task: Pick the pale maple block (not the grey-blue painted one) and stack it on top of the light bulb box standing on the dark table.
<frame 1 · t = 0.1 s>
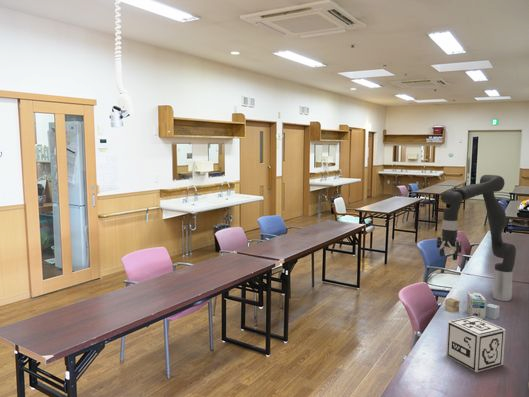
hand: (448, 258, 228), 29 cm above the table, fingers open, 8 cm apart
grey-blue block: (491, 317, 222), on the table
light bulb box: (475, 315, 224), on the table
maple block: (451, 310, 231), on the table
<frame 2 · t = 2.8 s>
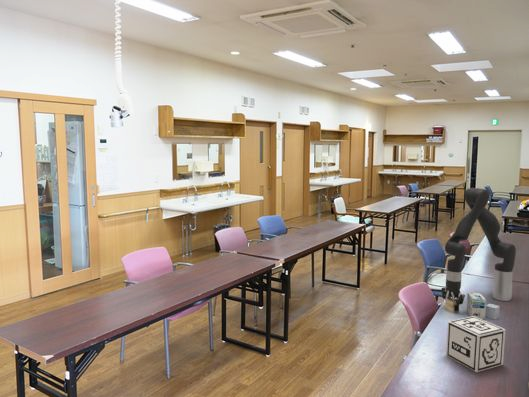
hand: (451, 309, 230), 1 cm above the table, fingers closed on maple block, 5 cm apart
maple block: (451, 310, 231), on the table, touching gripper
everything else where it was.
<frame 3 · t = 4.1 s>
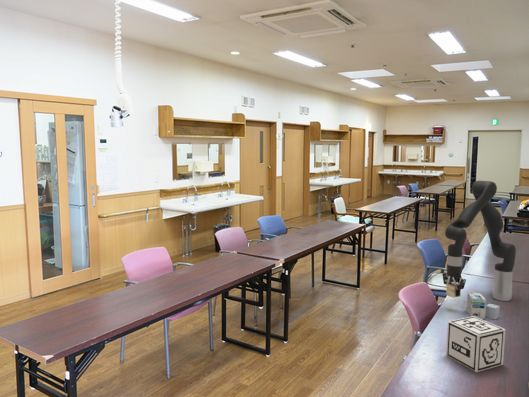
hand: (453, 294, 230), 9 cm above the table, fingers closed on maple block, 5 cm apart
maple block: (453, 295, 230), point 8 cm above the table, touching gripper
everything else where it was.
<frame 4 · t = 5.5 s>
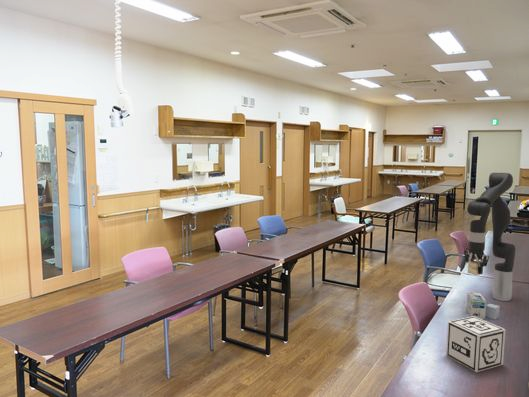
hand: (475, 272, 222), 23 cm above the table, fingers closed on maple block, 5 cm apart
maple block: (475, 273, 222), point 22 cm above the table, touching gripper
everything else where it was.
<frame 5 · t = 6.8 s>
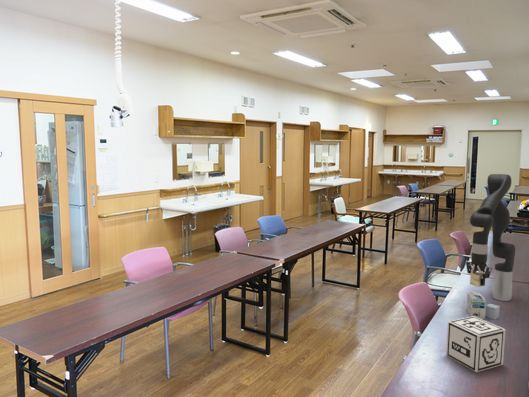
hand: (477, 283, 222), 17 cm above the table, fingers closed on maple block, 5 cm apart
maple block: (477, 284, 222), point 16 cm above the table, touching gripper
everything else where it was.
when the fingers open (13 cm above the table, at t = 8.0 s): maple block drops 1 cm, resting on light bulb box.
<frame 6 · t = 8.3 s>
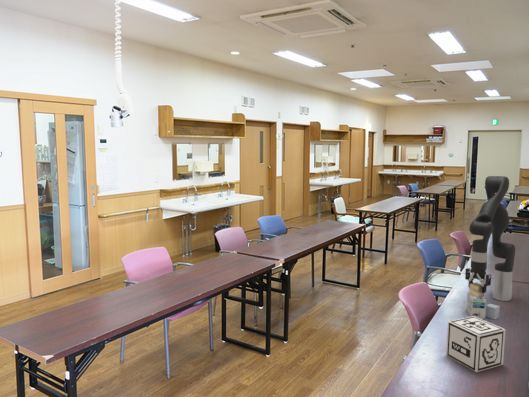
hand: (477, 290, 222), 13 cm above the table, fingers open, 7 cm apart
light bulb box: (475, 315, 224), on the table, touching maple block
maple block: (476, 295, 223), point 11 cm above the table, touching light bulb box
everything else where it was.
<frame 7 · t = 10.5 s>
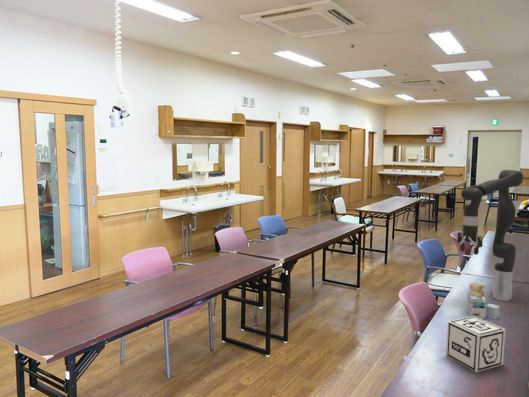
hand: (469, 252, 235), 30 cm above the table, fingers open, 8 cm apart
nothing on the table moved.
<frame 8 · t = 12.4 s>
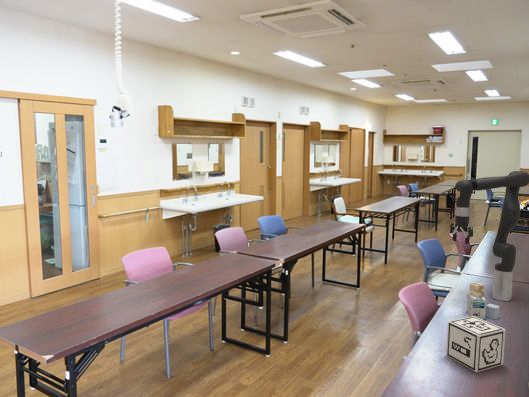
hand: (460, 242, 248), 33 cm above the table, fingers open, 8 cm apart
nothing on the table moved.
at the end: maple block 0.2 cm from the light bulb box (horizontally); maple block point 10.7 cm above the table; maple block tilted 0° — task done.
